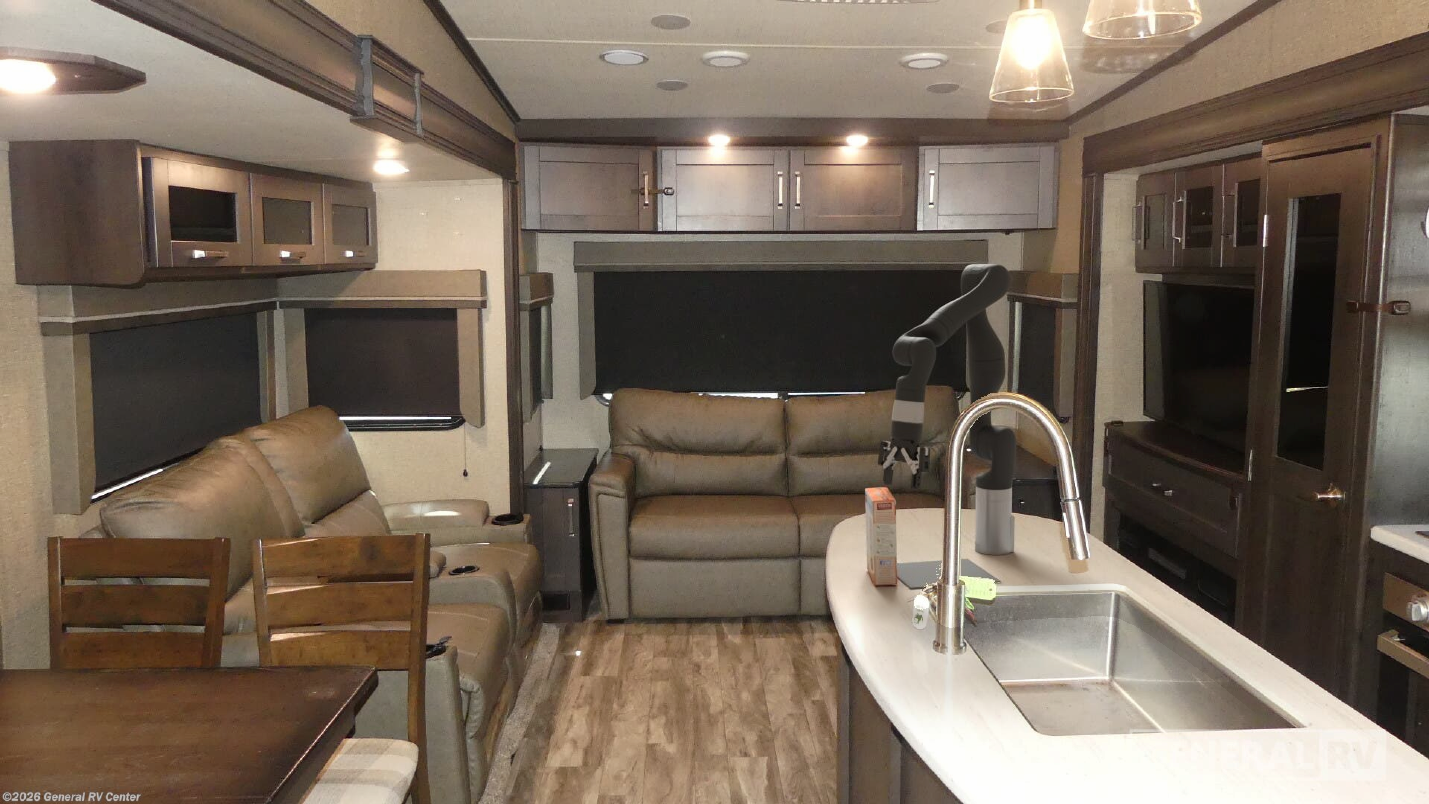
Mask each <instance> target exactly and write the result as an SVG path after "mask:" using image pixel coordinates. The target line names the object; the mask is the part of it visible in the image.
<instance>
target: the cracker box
mask: <svg viewBox="0 0 1429 804" xmlns="http://www.w3.org/2000/svg"><path fill="white" fill-rule="evenodd" d="M864 497H865V498H864V501H865V503H864V504H865V505H864V506H865V536H866V538H865V539H866V569H867V571H868V574H869V576H870V578H871V580H872V584H873V585H874V586H875V587H876V586H898V578H897V563H898V557H897V555H898V554H897V547H898V546H897V501H896V498H895V497H894V496H893V494H892V492H891V491H890V490H889V488H888V487H883V486H881V487H867V488H865V489H864Z"/></svg>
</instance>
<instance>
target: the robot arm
mask: <svg viewBox="0 0 1429 804" xmlns="http://www.w3.org/2000/svg"><path fill="white" fill-rule="evenodd" d="M1010 276H1011V275H1010V273H1009V270H1008V269H1007V268H1006V267H1005V266H1004V265H1002V264H998V263H997V264H996V263H973V264H968V265H967V266H965V268H964V269H963V271H962V273H961V277H960V293H961V296H960V297H959V298H956V299H955V300H952V301H950V302H948V303H946V304H945V305H943V306H941V307H939V308H938V309H937V310H936V311H934V312H933V313H932V314H931V315H930V316H929V317H928V318H927V319H926V320H925V321H924V322H923V323H922V324H919V325H918V326H915V327H913V328H912V329H911V330H909V331H907V332H905V333H903V334H902V335H901V336H899V338H898V339H896V341H895V343H894V345H893V347H892V351H891V352H892V353H891V354H892V357H893V360H894V361H895V363H897V364H898V365H901V366H906V367H911V368H910V370H909V373H908V374H906V375H902V376H900V377H898V378H897V381H896V383H895V384H896V386H895V394H894V401H893V406H892V412H891V413H892V414H891V422H890V424H891V425H890V434H889V435H890V436H889V437H890V438H891V441H889V440H881V441H880V444H879V450H878V451H879V452H878V458H877V465H878V466H881V467H882V468H883V477H882V481H883V485H887V486H888V485H893V477H894V469H893V468H894V467H896V464H898V463H899V462H902V463H907V466H908V467H910V470H911V472H912V473H911V479H910V480H911V481H910V490H913V491H917V490H919V489H920V487H921V485H922V484H921V482H922V475H923V474H926V473H929V472H930V462H931V448H930V447H929V446H921V445H920V442H921V441H922V438H923V428H924V419H925V418H924V417H925V399H926V386H927V384H928V382H929V378H930V376H931V373H932V371H933V368H934V365H935V363H936V359H937V349H936V348H938V347H940V346H943V344H944V343H946V342H947V341H948V340H949V339H950V338H951V337H952V336H953V335H954V334H955V333H956V332H957V331H958V330H959V329H961V327H963V326H964V325H965V327H966V328H965V329H966V339H967V340H966V341H967V360H968V361H967V363H968V364H967V365H968V378H969V392H970V393H969V398H970V400H969V401H970V405H971V404H972V403H973V402H975V401H976V400H978V399H981V397H984V396H987V395H988V394H990V393H997V394H998V393H999V391H1000V390H1001V388H1002V386H1003V383H1004V381H1005V378H1006V372H1007V371H1006V355H1005V354H1006V353H1005V348H1004V346H1003V344H1002V342H1001V340H1000V338H999V337H998V335H997V333H996V332H995V330H994V329H993V327H992V324H991V322H990V320H989V318H988V314H987V308H988V307H991V306H992V305H993V304H995V303H996V302H998V301H1000V300H1001V299H1002V298H1003V297H1004V296H1005V295H1006V294H1007V292H1008V291H1009V288H1010V284H1011V277H1010ZM968 431H969V437H968V440H969V443H968V444H969V449H970V452H971V454H972V455H973V456H974V457H975V458H977V459H978V460H984V461H989V462H991V465H990V466H991V467H990V469H989V470H988V471H987V472H982V473H979V474H977V475H976V478H975V517H974V518H975V523H974V524H975V526H974V527H975V528H974V529H975V530H974V532H975V534H974V539H975V540H974V550H975V551H976V552H978V553H980V554H986V555H993V556H994V555H998V556H999V555H1006V554H1009V553H1014V552H1015V527H1016V526H1015V525H1016V524H1015V522H1016V517H1015V515H1012V513H1013V510H1012V509H1013V506H1012V504H1013V498H1012V497H1013V481H1014V478H1015V473H1016V461H1017V446H1018V443H1017V436H1016V434H1015V431H1014V430H1013V429H1011V428H1010V427H1006V426H999V425H992V410H991V411H990V412H988V413H987V414H984V415H982V416H981V417H979V418H978V420H976V421H975V423H974V424H973V426H972V427H971V428H970V427H969V430H968ZM890 451H891V452H890Z"/></svg>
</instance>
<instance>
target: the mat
mask: <svg viewBox="0 0 1429 804" xmlns="http://www.w3.org/2000/svg"><path fill="white" fill-rule="evenodd" d="M960 559H961V576H968V577H981V578H989V579H993V580H995V582H1001V583H1002V581H1001V580H1000V579H998V578H997V577H996V576H995V575H993V574H991V573H990V572H988V571H987V570H985V569H984V568H982V567H981V566H979V565H978V564H976V563H975V562H973V561H972V560H970V559H969V558H960ZM941 563H942V559H940V560H928V561H915V562H897V580H899V581H900V580H901V581H900V582H901V583H903V585H905V586H906V585H907V586H908V587H909V588H908V587H907V586H906V587H907V588H908V589H910V590H916V589H918V590H919V589H924V588H923V587H924V586H926V585H927V584H928V585H929V584H932V583H936V582H937V581H938V580H939V577H940V576H941V569H940V570H939V568H941ZM939 565H940V566H939ZM936 568H937V569H936ZM936 571H937V572H936ZM936 574H939V575H936ZM937 577H938V578H937ZM926 583H927V584H926ZM913 588H914V589H913Z"/></svg>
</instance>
